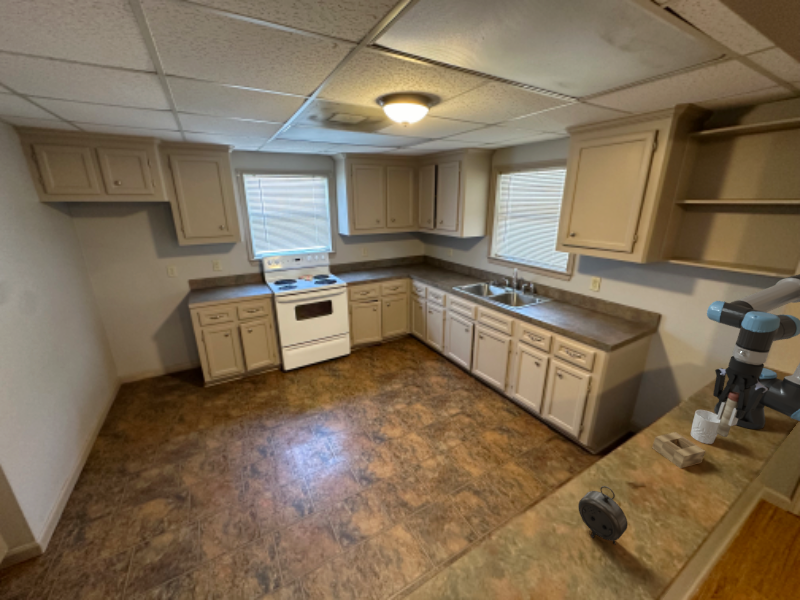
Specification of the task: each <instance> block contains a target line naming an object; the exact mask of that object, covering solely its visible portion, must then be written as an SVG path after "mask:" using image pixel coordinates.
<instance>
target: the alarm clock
mask: <svg viewBox="0 0 800 600" xmlns="http://www.w3.org/2000/svg"><path fill="white" fill-rule="evenodd" d="M603 488H604V489H605V488H606V489H608V490H609V491H611V493H612V495H613V496H612V497H610V496H608V495H607V494H605V493H603ZM599 489H600V491H597V490H590V491H587V492H586V493H585V495H584V496H583V497H582V498H581V499H580V500H579V502H578V506H577V507H578V512H579V515H580V518H581V520H582V521H583V522H584V524H585V525H586V526H587V527H588V529H590V531H591V532H592V533H591V534H590V535H591V538H592V539H594V538H595V535H596V536H598V537H600V538H602V539H604V540H607V541H611V542H612V544H613V545H614V546H616V545H617V542H616V541H617V540H619V539H620V538H621V537H622V536H623V534H624V533H625V532H626V531H627V529H628V525H629V524H628V519H627V517H626V514H625V512H624V510H623V509H622V507H620V505H619V504H618V503H617V502H616V501H615V500H614V499H615V496H616V494H615V492H614V491H613V489H611V488H610V487H609V486H606V485H604V486H603V485H602V486H600V488H599Z"/></svg>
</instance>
